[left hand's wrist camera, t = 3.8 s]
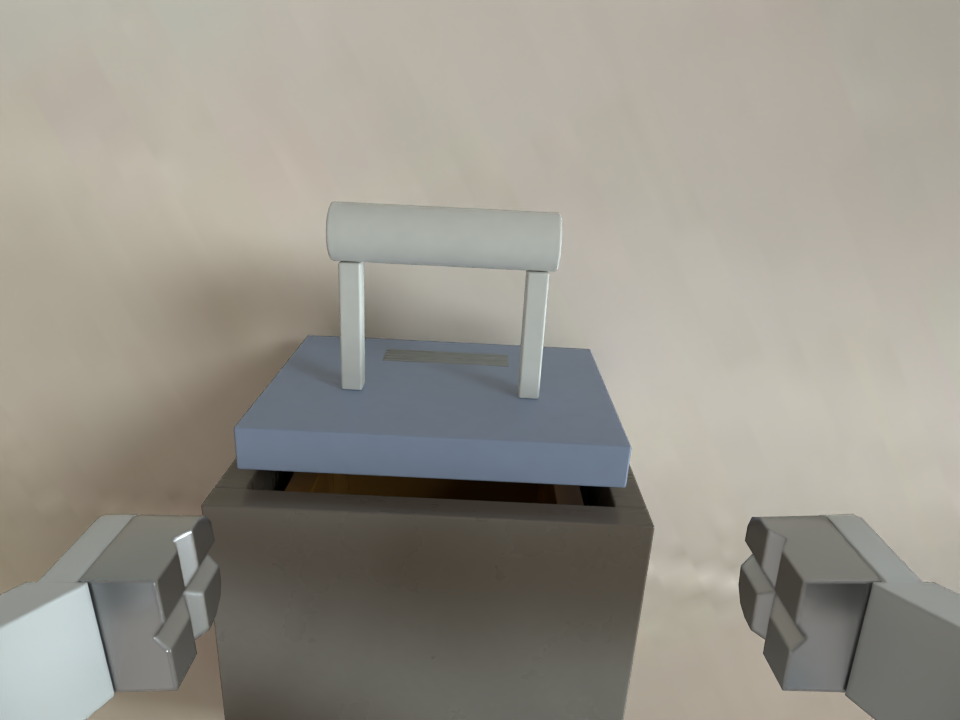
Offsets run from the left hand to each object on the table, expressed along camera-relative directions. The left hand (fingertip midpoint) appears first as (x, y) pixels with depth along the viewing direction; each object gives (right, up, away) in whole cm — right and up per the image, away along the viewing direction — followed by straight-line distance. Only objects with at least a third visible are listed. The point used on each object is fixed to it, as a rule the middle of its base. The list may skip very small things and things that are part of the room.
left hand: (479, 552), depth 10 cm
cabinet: (-2, -6, +18) cm, 19 cm away
